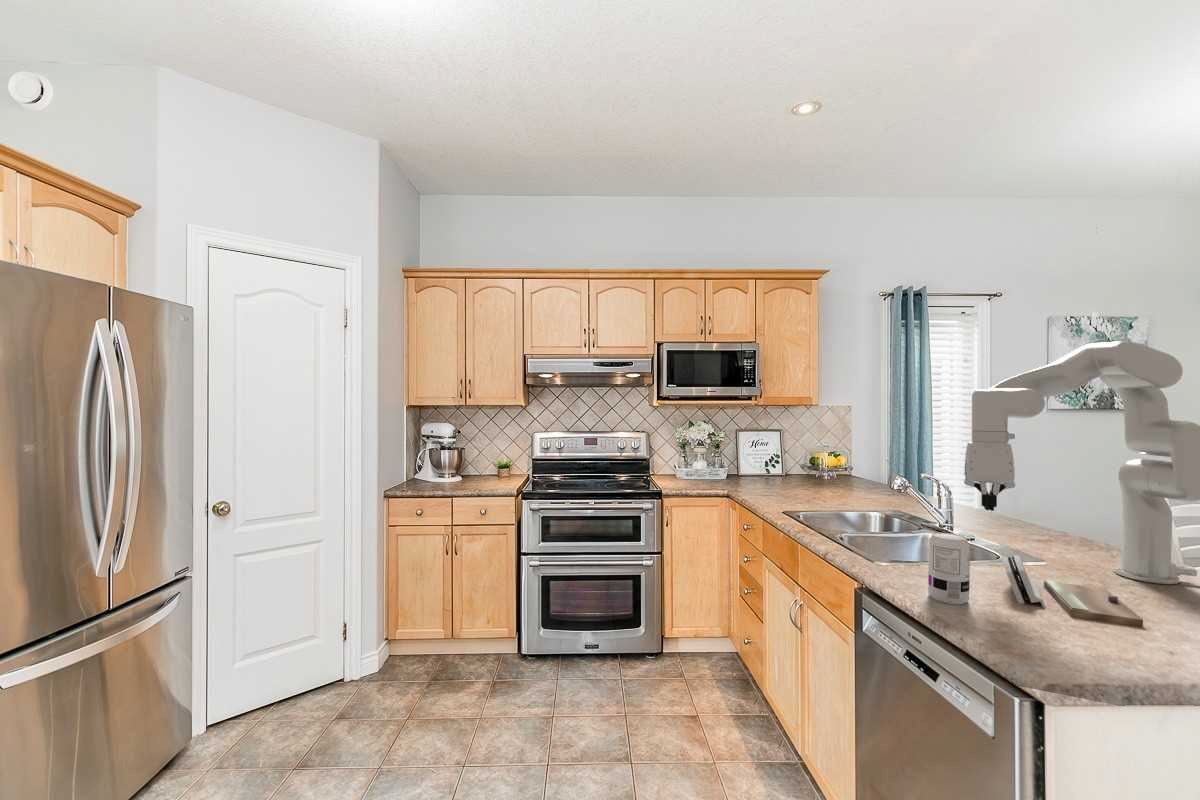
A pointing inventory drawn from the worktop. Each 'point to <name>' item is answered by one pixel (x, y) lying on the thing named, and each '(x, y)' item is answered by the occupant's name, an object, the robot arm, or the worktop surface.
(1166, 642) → the worktop surface
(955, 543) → the supplement can
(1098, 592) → the door panel
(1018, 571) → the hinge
